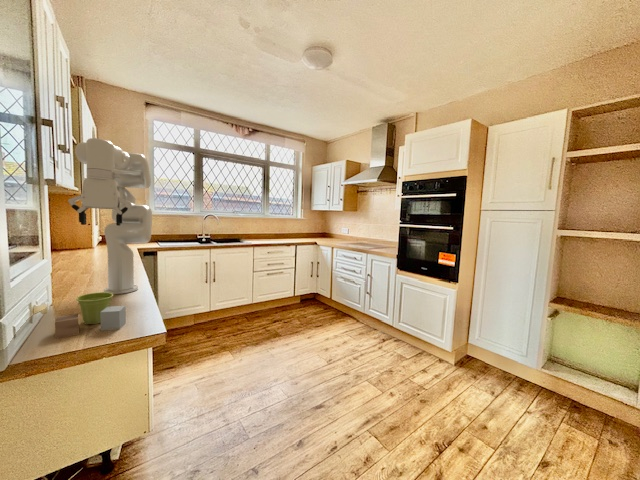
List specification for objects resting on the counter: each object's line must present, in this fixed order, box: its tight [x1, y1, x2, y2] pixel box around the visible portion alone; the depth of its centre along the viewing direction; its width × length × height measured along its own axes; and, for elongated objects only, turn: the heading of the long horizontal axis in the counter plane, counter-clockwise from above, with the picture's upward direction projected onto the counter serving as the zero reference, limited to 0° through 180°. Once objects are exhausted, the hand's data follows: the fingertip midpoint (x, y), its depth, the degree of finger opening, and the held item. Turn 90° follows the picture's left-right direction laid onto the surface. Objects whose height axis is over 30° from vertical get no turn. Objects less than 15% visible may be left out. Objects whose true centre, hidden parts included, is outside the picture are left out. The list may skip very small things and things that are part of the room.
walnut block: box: [54, 313, 80, 339], centre depth 79 cm, size 5×5×5 cm
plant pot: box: [75, 291, 114, 325], centre depth 89 cm, size 9×9×9 cm
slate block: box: [100, 305, 127, 331], centre depth 85 cm, size 5×5×6 cm
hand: (101, 225), depth 93 cm, fingers open, 9 cm apart
